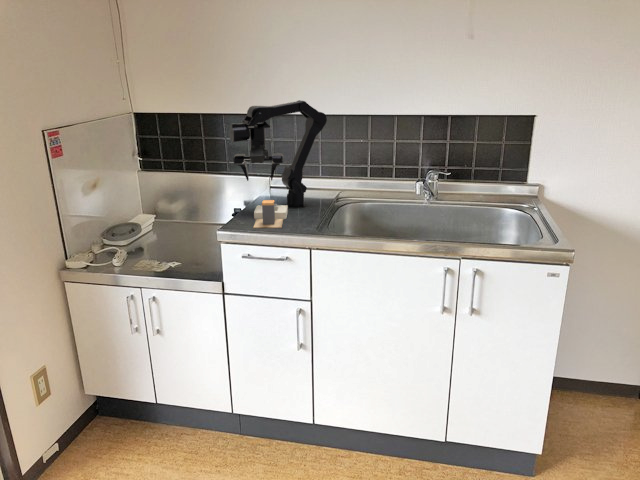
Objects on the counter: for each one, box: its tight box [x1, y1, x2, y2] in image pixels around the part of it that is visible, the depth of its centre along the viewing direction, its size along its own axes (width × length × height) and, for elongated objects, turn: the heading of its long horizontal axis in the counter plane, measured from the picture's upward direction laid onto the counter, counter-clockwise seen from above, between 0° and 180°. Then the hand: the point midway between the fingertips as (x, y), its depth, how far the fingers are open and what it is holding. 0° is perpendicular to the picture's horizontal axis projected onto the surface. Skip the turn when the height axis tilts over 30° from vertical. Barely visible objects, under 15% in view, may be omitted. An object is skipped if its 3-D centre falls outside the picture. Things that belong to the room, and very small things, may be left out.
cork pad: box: [252, 219, 284, 229], centre depth 196 cm, size 10×10×1 cm
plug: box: [261, 199, 275, 225], centre depth 195 cm, size 4×4×8 cm
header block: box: [253, 203, 289, 220], centre depth 206 cm, size 12×10×3 cm
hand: (259, 180), depth 209 cm, fingers open, 9 cm apart
